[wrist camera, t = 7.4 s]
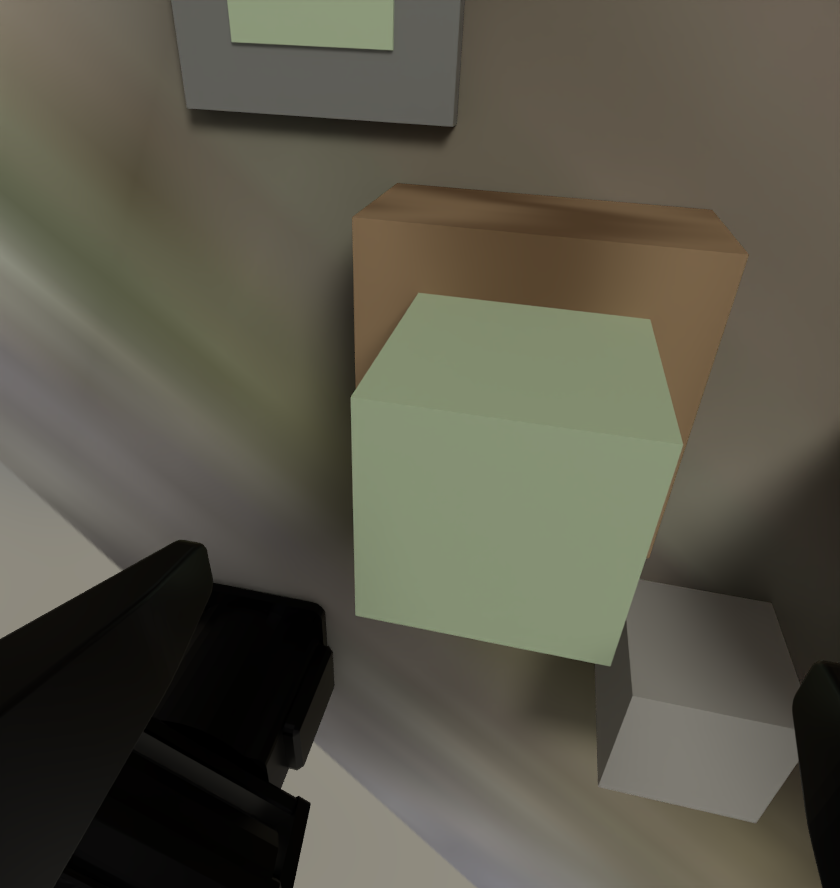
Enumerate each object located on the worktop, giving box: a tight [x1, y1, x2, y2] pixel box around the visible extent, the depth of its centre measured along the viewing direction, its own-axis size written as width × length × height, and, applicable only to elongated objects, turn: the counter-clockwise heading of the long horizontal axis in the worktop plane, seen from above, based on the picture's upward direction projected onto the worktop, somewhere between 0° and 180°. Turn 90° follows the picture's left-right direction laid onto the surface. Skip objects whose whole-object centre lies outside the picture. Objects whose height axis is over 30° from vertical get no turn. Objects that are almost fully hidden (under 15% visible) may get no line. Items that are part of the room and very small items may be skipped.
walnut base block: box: [352, 183, 749, 558], centre depth 16 cm, size 8×8×4 cm
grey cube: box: [595, 579, 800, 823], centre depth 21 cm, size 5×5×5 cm
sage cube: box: [351, 293, 683, 666], centre depth 13 cm, size 5×5×5 cm
